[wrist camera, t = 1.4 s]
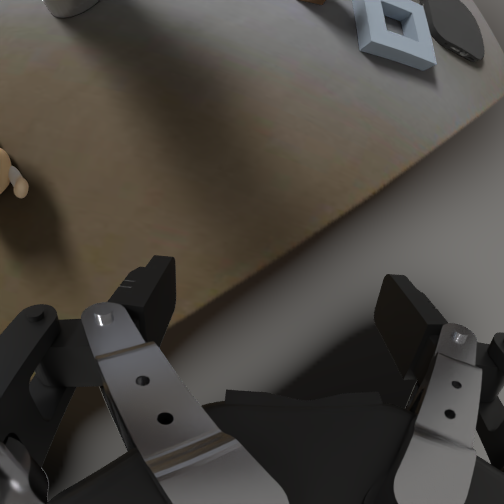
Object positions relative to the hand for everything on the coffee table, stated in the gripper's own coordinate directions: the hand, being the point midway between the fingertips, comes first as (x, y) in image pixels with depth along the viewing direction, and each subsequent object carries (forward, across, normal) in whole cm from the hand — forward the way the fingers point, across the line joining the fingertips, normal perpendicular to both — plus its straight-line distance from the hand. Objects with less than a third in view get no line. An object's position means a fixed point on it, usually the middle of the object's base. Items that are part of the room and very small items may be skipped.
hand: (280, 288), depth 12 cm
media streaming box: (+42, -33, -34) cm, 63 cm away
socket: (+37, -18, -25) cm, 48 cm away
